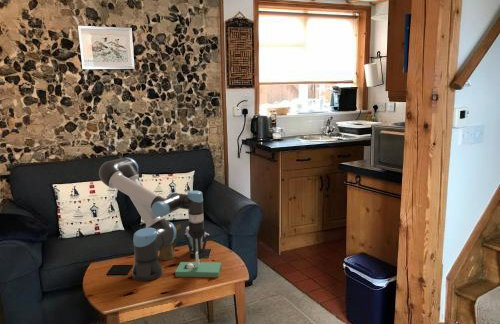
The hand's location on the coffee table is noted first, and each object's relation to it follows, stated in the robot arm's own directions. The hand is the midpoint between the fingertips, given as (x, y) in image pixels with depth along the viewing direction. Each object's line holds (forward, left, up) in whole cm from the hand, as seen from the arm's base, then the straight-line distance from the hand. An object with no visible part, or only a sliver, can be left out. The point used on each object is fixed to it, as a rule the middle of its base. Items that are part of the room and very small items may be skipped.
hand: (197, 264), depth 214 cm
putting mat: (+1, 0, -4) cm, 4 cm away
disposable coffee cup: (-6, +26, -4) cm, 28 cm away
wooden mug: (-19, +19, -4) cm, 28 cm away
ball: (-4, 0, -2) cm, 4 cm away
